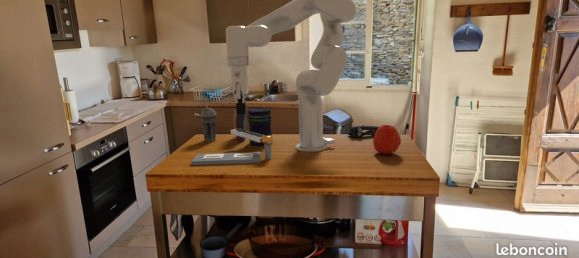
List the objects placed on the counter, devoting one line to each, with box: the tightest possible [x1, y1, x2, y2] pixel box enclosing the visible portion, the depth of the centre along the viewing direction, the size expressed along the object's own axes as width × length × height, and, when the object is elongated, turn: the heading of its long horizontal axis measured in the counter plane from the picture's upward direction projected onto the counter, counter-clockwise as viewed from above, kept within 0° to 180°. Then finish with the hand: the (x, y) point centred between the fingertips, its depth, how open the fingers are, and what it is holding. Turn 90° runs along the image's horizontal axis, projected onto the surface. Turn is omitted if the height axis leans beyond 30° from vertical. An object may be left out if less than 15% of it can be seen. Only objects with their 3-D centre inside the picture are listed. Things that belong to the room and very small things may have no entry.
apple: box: [372, 124, 402, 154], centre depth 149 cm, size 10×10×10 cm
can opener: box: [347, 124, 380, 139], centre depth 176 cm, size 18×7×6 cm, turn 102°
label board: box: [191, 143, 272, 166], centre depth 144 cm, size 28×10×6 cm, turn 91°
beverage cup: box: [199, 97, 218, 143], centre depth 172 cm, size 7×7×20 cm
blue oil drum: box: [247, 107, 273, 148], centre depth 166 cm, size 10×10×15 cm
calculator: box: [235, 104, 248, 142], centre depth 176 cm, size 11×4×15 cm, turn 0°
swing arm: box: [230, 128, 273, 144], centre depth 152 cm, size 26×4×2 cm, turn 37°
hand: (241, 113), depth 141 cm, fingers closed
